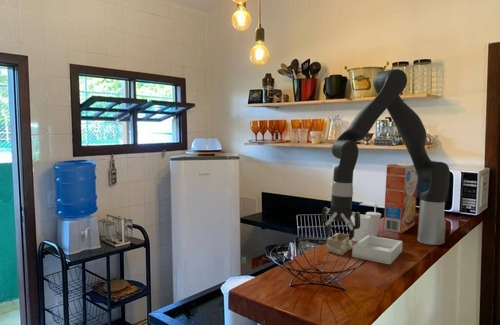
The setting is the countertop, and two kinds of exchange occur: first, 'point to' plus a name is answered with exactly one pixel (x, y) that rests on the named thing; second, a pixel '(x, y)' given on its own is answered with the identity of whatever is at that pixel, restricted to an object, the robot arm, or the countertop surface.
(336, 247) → the birch crate
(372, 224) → the smoothie
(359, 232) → the white cup
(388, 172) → the orange cereal box
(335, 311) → the countertop surface
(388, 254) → the white crate
